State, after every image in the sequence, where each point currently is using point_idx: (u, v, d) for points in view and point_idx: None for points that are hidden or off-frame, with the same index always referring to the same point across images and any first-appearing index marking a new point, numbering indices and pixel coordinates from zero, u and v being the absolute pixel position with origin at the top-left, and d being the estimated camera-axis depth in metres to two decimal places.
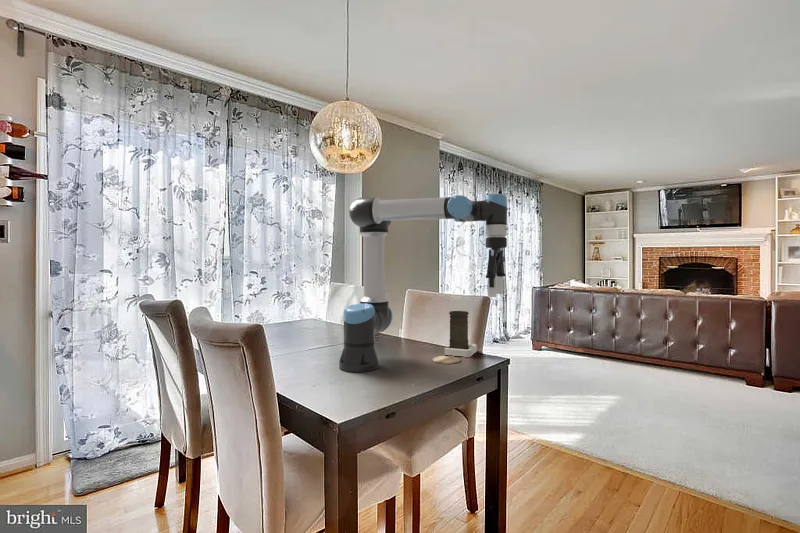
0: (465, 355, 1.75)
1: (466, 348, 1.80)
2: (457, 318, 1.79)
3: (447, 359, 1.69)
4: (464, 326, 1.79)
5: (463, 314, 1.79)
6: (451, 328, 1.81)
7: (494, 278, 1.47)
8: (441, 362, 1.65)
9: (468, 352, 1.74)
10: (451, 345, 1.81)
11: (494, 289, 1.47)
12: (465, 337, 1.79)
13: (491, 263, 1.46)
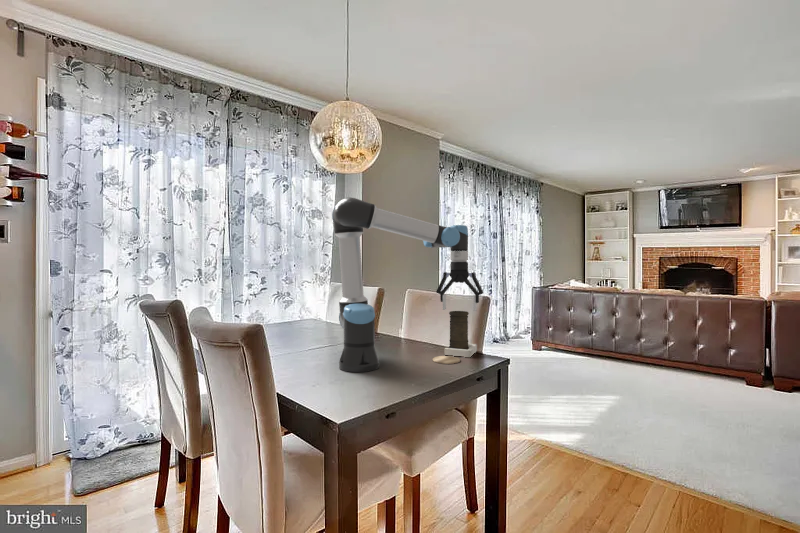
0: (465, 355, 1.75)
1: (466, 348, 1.80)
2: (457, 318, 1.79)
3: (447, 359, 1.69)
4: (464, 326, 1.79)
5: (463, 314, 1.79)
6: (451, 328, 1.81)
7: (443, 294, 1.84)
8: (441, 362, 1.65)
9: (468, 352, 1.74)
10: (451, 345, 1.81)
11: None
12: (465, 337, 1.79)
13: None
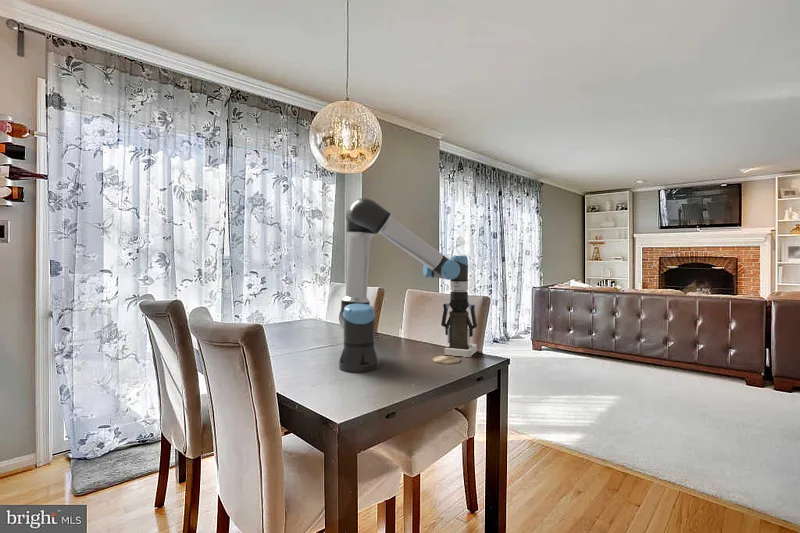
0: (465, 355, 1.75)
1: (466, 348, 1.80)
2: (457, 318, 1.79)
3: (447, 359, 1.69)
4: (464, 326, 1.79)
5: (463, 314, 1.79)
6: (451, 328, 1.81)
7: (448, 328, 1.83)
8: (441, 362, 1.65)
9: (468, 352, 1.74)
10: (451, 345, 1.81)
11: None
12: (464, 337, 1.79)
13: None
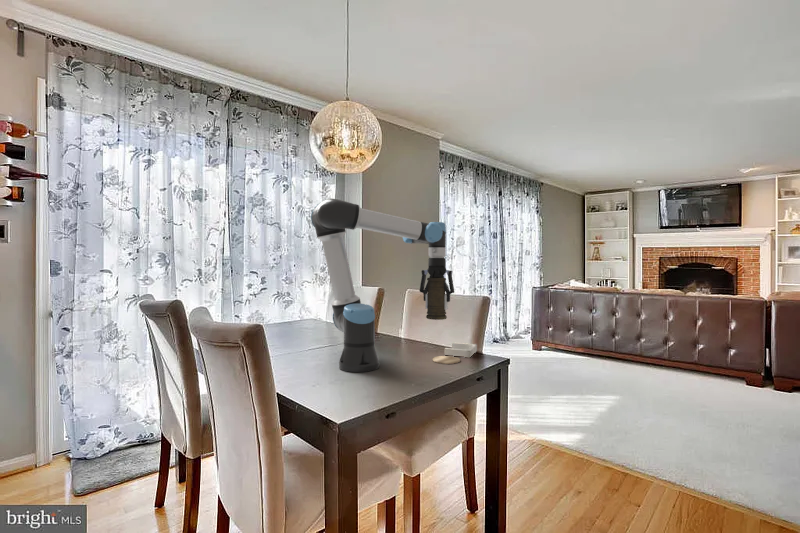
0: (465, 355, 1.75)
1: (443, 313, 1.83)
2: (434, 283, 1.82)
3: (447, 359, 1.69)
4: (441, 291, 1.83)
5: (440, 279, 1.82)
6: (429, 293, 1.84)
7: (426, 293, 1.87)
8: (441, 362, 1.65)
9: (468, 352, 1.74)
10: (428, 310, 1.84)
11: None
12: (442, 302, 1.83)
13: None
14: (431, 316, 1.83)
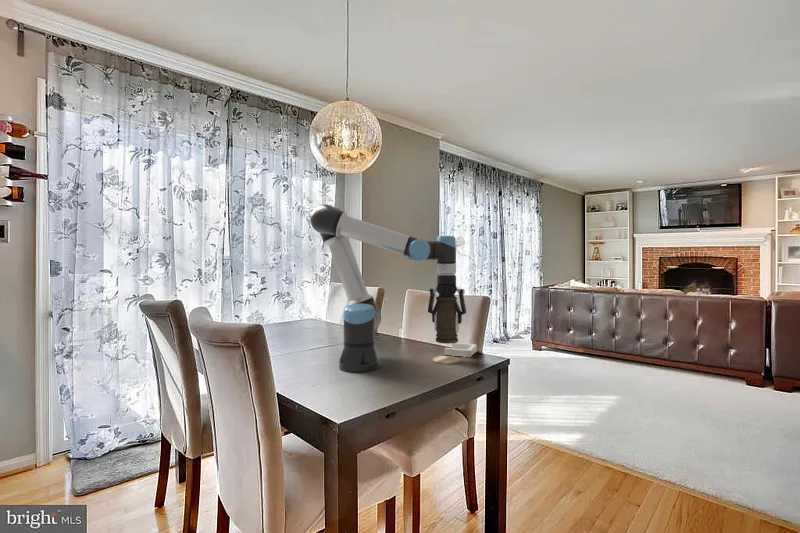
0: (465, 355, 1.75)
1: (455, 336, 1.66)
2: (444, 303, 1.65)
3: (447, 359, 1.69)
4: (452, 312, 1.66)
5: (451, 299, 1.65)
6: (438, 314, 1.67)
7: (435, 314, 1.70)
8: (441, 362, 1.65)
9: (468, 352, 1.74)
10: (438, 333, 1.67)
11: None
12: (453, 324, 1.66)
13: None
14: (441, 339, 1.66)
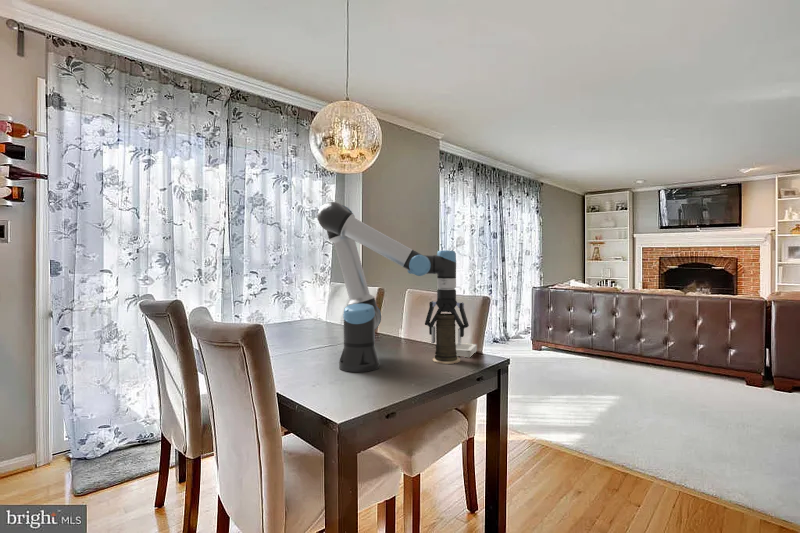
0: (465, 355, 1.75)
1: (454, 353, 1.66)
2: (443, 321, 1.66)
3: None
4: (451, 330, 1.66)
5: (450, 317, 1.65)
6: (437, 332, 1.68)
7: (432, 327, 1.70)
8: (441, 362, 1.65)
9: (468, 352, 1.74)
10: (437, 350, 1.68)
11: None
12: (452, 341, 1.66)
13: None
14: (440, 357, 1.66)
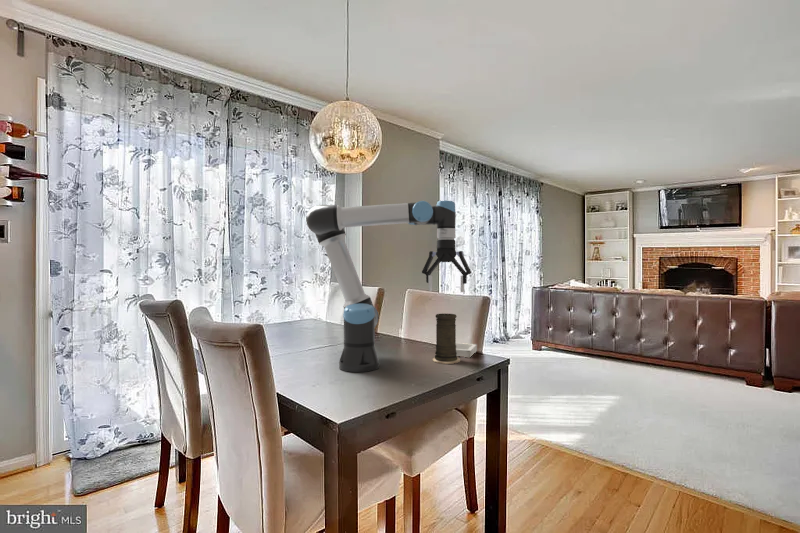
0: (465, 355, 1.75)
1: (454, 354, 1.66)
2: (444, 321, 1.65)
3: None
4: (451, 330, 1.66)
5: (450, 317, 1.65)
6: (437, 332, 1.68)
7: (428, 275, 1.73)
8: (441, 362, 1.65)
9: (468, 352, 1.74)
10: (437, 350, 1.68)
11: None
12: (452, 342, 1.66)
13: None
14: (440, 357, 1.66)
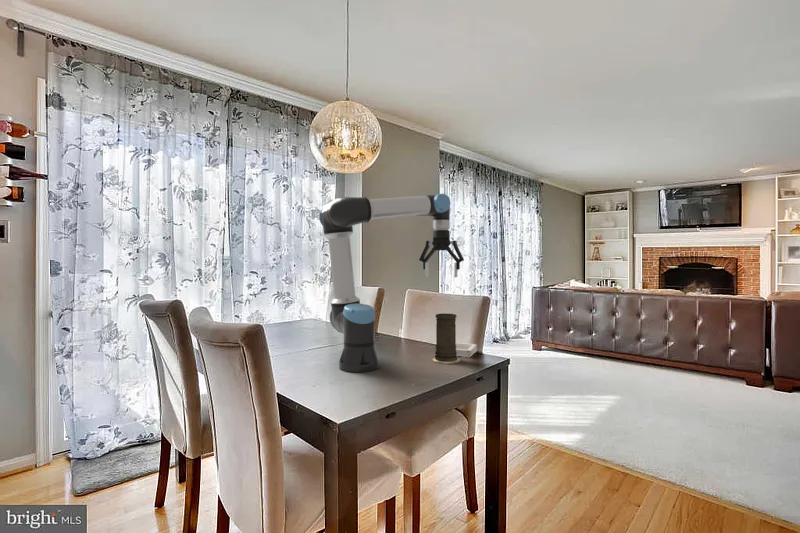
0: (465, 355, 1.75)
1: (454, 354, 1.66)
2: (444, 321, 1.65)
3: None
4: (451, 330, 1.66)
5: (450, 317, 1.65)
6: (437, 332, 1.68)
7: (425, 262, 1.92)
8: (441, 362, 1.65)
9: (468, 352, 1.74)
10: (437, 350, 1.68)
11: None
12: (452, 342, 1.66)
13: None
14: (440, 357, 1.66)
